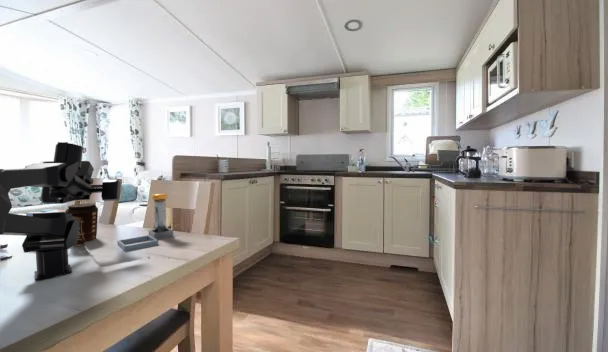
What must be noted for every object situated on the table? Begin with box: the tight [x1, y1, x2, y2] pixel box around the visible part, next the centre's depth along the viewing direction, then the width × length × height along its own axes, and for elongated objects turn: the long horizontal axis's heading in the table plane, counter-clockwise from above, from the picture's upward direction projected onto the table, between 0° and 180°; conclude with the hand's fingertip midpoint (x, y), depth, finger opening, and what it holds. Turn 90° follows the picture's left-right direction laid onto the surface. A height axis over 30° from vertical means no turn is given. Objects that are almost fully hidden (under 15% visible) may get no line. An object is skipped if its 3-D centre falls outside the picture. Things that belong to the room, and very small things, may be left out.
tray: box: [116, 234, 159, 252], centre depth 87 cm, size 9×9×2 cm
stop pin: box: [151, 193, 168, 233], centre depth 96 cm, size 5×5×14 cm
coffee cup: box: [65, 202, 99, 247], centre depth 93 cm, size 9×8×13 cm
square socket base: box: [148, 227, 181, 241], centre depth 98 cm, size 9×8×3 cm
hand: (94, 197), depth 91 cm, fingers open, 9 cm apart
